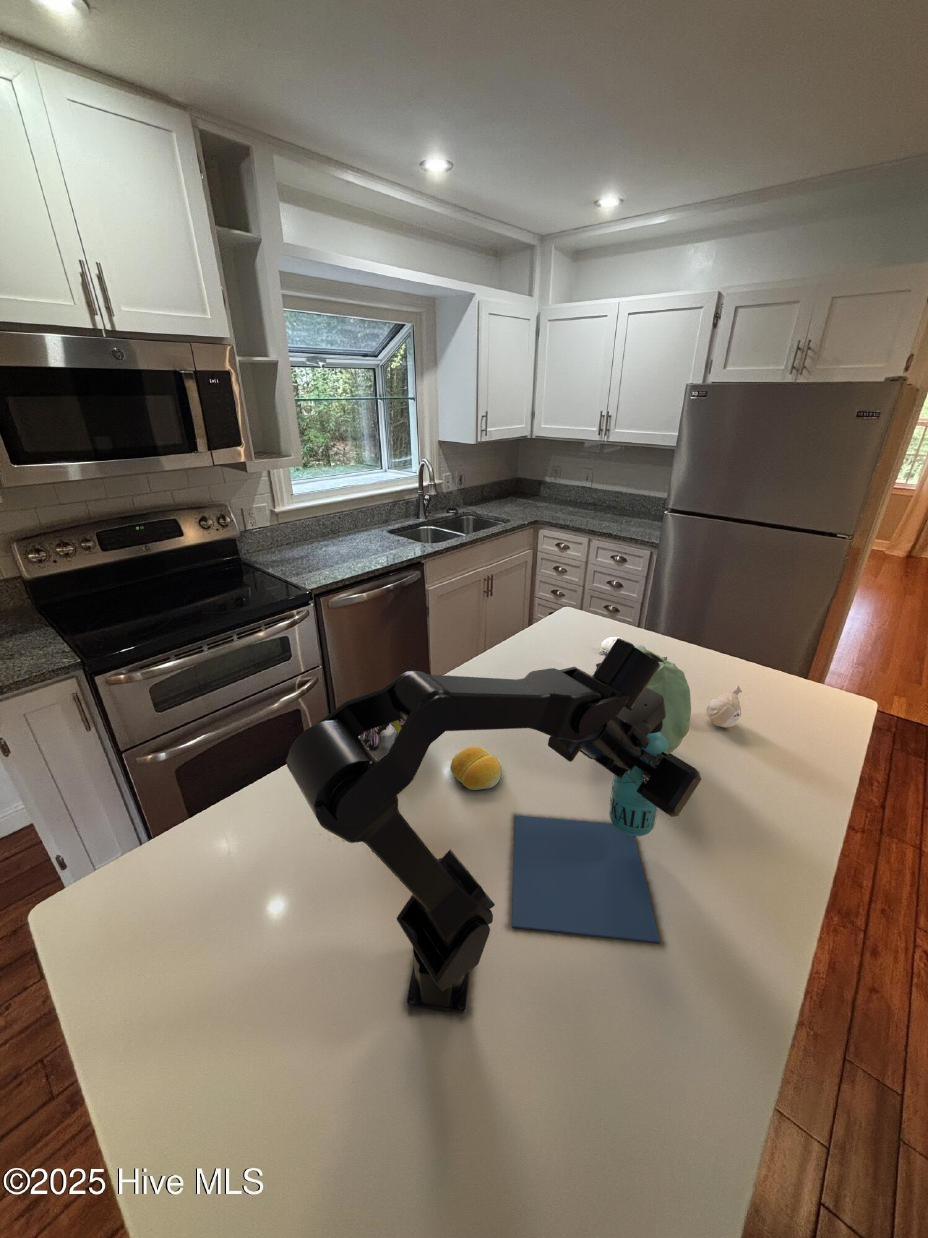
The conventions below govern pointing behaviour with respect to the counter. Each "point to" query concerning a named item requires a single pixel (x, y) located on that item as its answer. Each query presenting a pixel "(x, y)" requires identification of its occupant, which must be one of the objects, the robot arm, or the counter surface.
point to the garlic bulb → (725, 709)
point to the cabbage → (671, 699)
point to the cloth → (579, 880)
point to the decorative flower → (374, 734)
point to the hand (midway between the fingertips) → (642, 770)
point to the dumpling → (608, 643)
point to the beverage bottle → (635, 794)
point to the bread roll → (476, 768)
